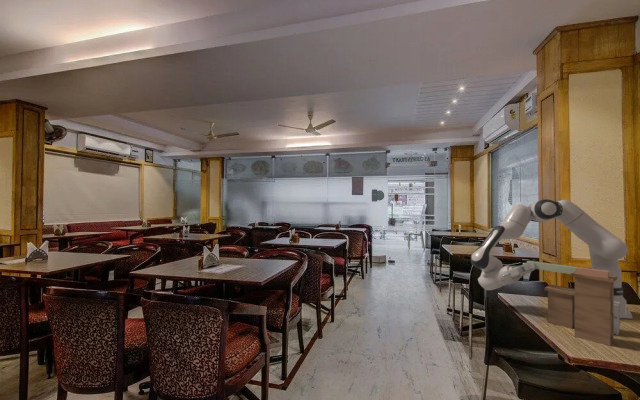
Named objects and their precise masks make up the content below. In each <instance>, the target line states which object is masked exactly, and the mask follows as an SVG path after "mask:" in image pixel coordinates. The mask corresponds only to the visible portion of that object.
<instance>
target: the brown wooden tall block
mask: <svg viewBox="0 0 640 400" xmlns="http://www.w3.org/2000/svg"><path fill="white" fill-rule="evenodd" d="M570 277H574V289H575V326H574V337H575V338H577V339H583V340H587V341H590V342H594V343H598V344H603V345H604V346H605V345H606V346H609V347H610V346H611V345H612V344H613V343H614V340H615V339H614V335H615V334H614V281H616V280H617V276H613V275H609V278H601V277H594V276H587V275H580V274H576V271H575V272H573V273H571V274H570Z"/></svg>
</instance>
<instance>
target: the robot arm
mask: <svg viewBox="0 0 640 400" xmlns="http://www.w3.org/2000/svg"><path fill="white" fill-rule="evenodd" d="M552 219H556V220H558V221H559V222H561V224H563V226H565V227H566V228H567V229H568V230H569V231H570V232H571V233H573V235H575V236H576V237H577V238H578V239H579V240H581V241H583V243H585V244H586V245H587V246H588V250H589V257H590V263H591V269H596V270H604V271H609V275H613V276H617V280H616V281H614V301H615V302H620V319H628V320H629V319H630V320H633V319H634V318H633V314H632V313H631V310H630V309H629V307H628V306H627V299H626V298H625V297H624V296H623V295H624V287H623V286H622V285H623V283H622V269H621V267H620V264H619V260H620V259H622V258H625V257H626V256H627V254H628V250H629V249H628V246H627V245H626V244H625V242H623V241H622V240H621V239H620V238H619V237H617V236H616V235H615V234H613V233H612V232H611V231H610V230H608V229H607V228H605V227H604V226H602V225H601V224H600V223H599V222H597V221H596V220H595V219H594V218H593V217H591V216H590V215H589V214H588V213H587V212H586V211H584V210H583V209H582V208H580V207H579V206H578V205H577V204H575V203H573V202H572V201H570V200H568V199H560V200H558V201H556V200H555V201H554V200H552V199H548V198H547V199H545V198H543V199H540V200H537V201H534V202H533V203H532V204H529V205H528V206H527V205H523V204H516V205H513V207H512V208H511V209H510V210H509V211H508V213H507V214H506V215H505V217H504V219H503V220H502V221H501V223H500V224H499V225H497V226H495V227H494V228H492V230H491V231H490V232H489V233H488V235H487V236H486V237H485V238H484V240H483V241H482V242H481V244H480V245H479V246H478V248H476V249H475V250H474V251H473V252H472V253H471V255H470V263H471V265H472V266H473V267H474V268H476V269H479V270H481V273H480V276H479V277H478V278H477V281H478V284H479V285H480V286H481V288H482V289H484V290H486V291H493V290H496V289H500V288H502V287H503V286H509V285H512V284H514V283H517V282H518V281H519V280H520V279H521V278H523V277H524V276H525V275H527V274H530V273H532V272H533V271H535V270H536V269H533V268H534V267H536V265H535V264H534V263H533V264H530V265H527V263H525V264H521V265H510V264H507V265H504V263H503V262H502V261H501V260H500V259H499V258H497V257H496V256H494V255H492V254H491V252H492V251H493V250H494V248H496V245H498V243H499V242H500V241H501V240H505V239H506V240H515V239H518V238H520V237H521V236H522V235H523V234H524V232H525V230H526V229H527V227H528V225H529V224H530V223H531V222H533V223H542V222H547V221H549V220H552Z"/></svg>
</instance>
